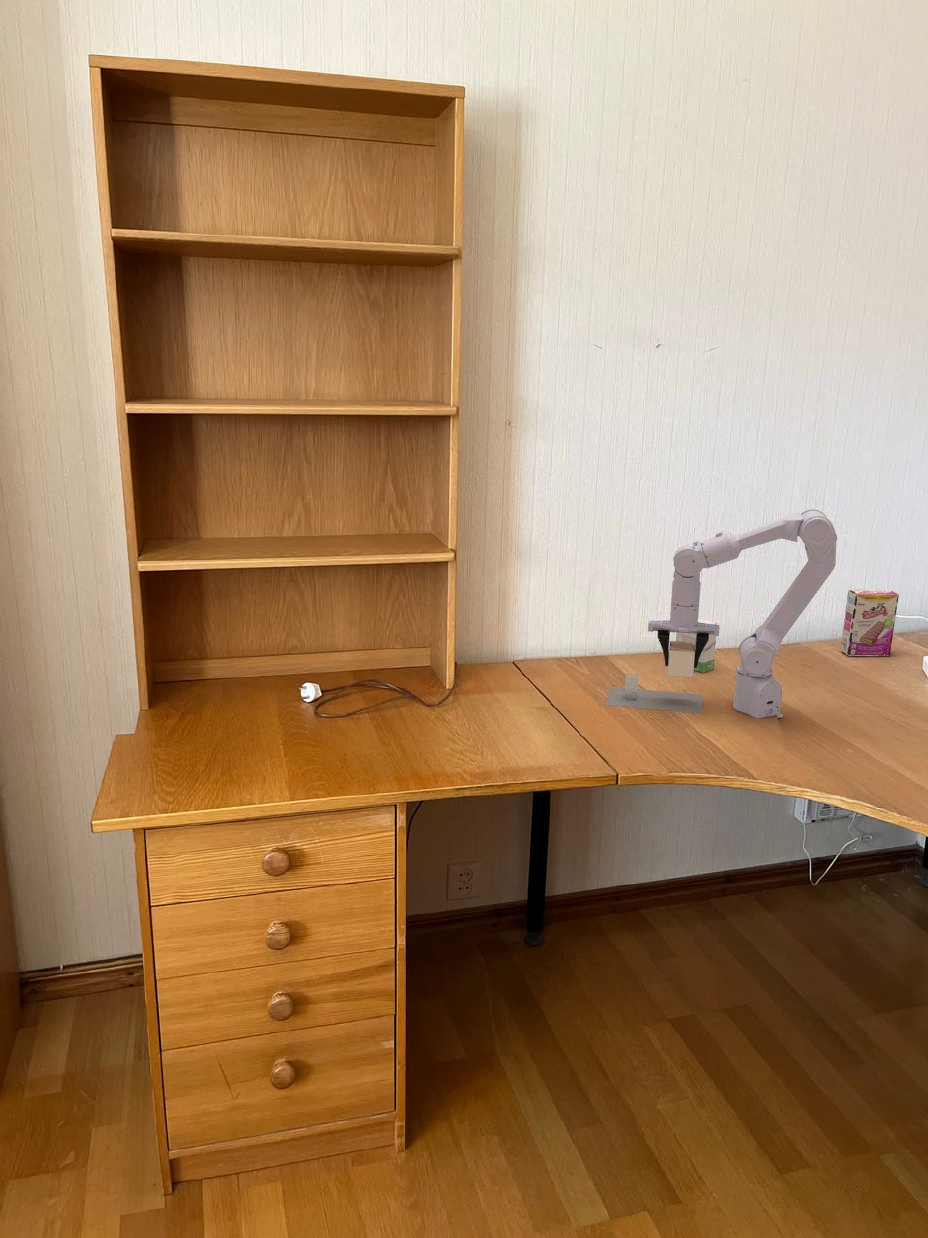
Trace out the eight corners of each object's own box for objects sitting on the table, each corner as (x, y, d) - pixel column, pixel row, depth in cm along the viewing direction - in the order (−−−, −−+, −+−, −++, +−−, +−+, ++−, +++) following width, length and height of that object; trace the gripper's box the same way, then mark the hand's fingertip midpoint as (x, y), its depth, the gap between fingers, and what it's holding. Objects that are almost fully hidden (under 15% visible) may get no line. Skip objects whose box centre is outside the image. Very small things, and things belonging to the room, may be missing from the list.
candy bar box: (848, 657, 242) (855, 593, 238) (839, 651, 247) (846, 589, 243) (891, 657, 243) (899, 593, 238) (882, 651, 248) (889, 588, 243)
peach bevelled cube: (693, 669, 207) (694, 642, 205) (693, 677, 202) (695, 649, 200) (668, 667, 208) (669, 640, 206) (667, 675, 203) (669, 647, 201)
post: (637, 700, 210) (638, 674, 208) (636, 704, 207) (637, 678, 206) (624, 699, 210) (626, 673, 209) (624, 703, 208) (625, 677, 206)
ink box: (714, 669, 232) (718, 622, 229) (702, 673, 229) (705, 625, 225) (685, 661, 238) (689, 614, 235) (673, 664, 235) (676, 618, 232)
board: (701, 698, 211) (701, 694, 211) (702, 717, 200) (702, 713, 200) (609, 691, 216) (609, 686, 215) (604, 709, 204) (605, 705, 204)
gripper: (648, 605, 199) (645, 668, 202) (721, 610, 196) (716, 674, 199) (650, 597, 205) (646, 659, 209) (720, 602, 202) (715, 663, 206)
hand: (680, 665), depth 204 cm, fingers closed on peach bevelled cube, 5 cm apart
